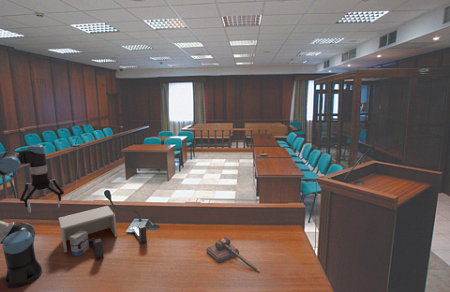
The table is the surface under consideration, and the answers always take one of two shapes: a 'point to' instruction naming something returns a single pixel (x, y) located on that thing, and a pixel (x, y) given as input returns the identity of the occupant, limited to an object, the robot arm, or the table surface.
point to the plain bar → (140, 233)
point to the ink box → (79, 242)
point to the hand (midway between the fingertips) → (44, 209)
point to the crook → (97, 247)
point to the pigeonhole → (87, 222)
